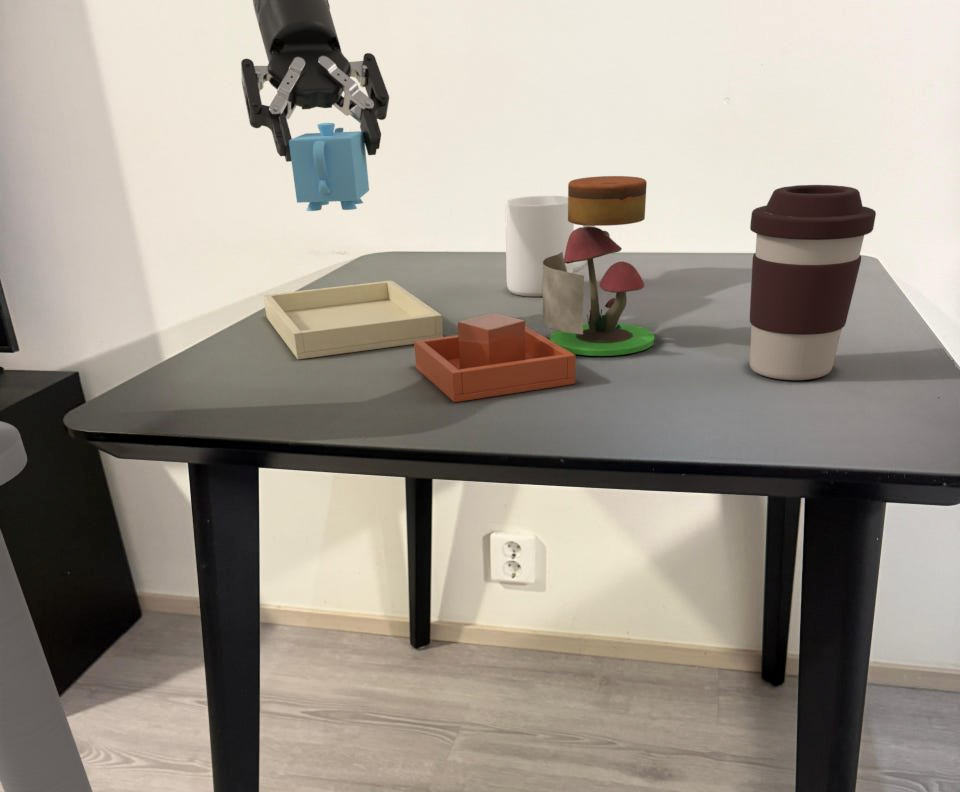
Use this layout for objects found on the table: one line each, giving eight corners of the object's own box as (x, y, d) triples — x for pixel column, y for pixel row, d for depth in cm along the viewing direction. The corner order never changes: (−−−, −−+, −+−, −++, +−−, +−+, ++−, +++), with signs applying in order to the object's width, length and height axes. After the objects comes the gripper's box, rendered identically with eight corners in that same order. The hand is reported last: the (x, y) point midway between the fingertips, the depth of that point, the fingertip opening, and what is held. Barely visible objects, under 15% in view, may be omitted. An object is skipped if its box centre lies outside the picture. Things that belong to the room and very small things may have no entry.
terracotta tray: (454, 402, 80) (452, 372, 79) (415, 367, 90) (413, 340, 88) (575, 383, 83) (575, 355, 82) (526, 352, 93) (525, 325, 91)
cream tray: (297, 359, 93) (293, 333, 92) (266, 317, 109) (263, 294, 108) (443, 340, 98) (441, 314, 96) (393, 302, 113) (391, 280, 112)
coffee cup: (838, 355, 88) (868, 180, 80) (855, 387, 80) (891, 196, 71) (731, 354, 89) (750, 182, 81) (737, 385, 81) (759, 198, 73)
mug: (581, 277, 122) (583, 191, 116) (610, 289, 115) (614, 198, 109) (496, 287, 118) (494, 199, 113) (522, 300, 112) (521, 207, 106)
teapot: (320, 197, 101) (311, 118, 97) (375, 195, 101) (368, 116, 96) (294, 215, 91) (282, 128, 87) (355, 213, 91) (346, 126, 86)
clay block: (490, 379, 84) (488, 329, 81) (459, 369, 86) (457, 321, 84) (525, 368, 86) (525, 320, 83) (494, 359, 89) (493, 312, 86)
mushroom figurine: (627, 321, 101) (634, 169, 93) (678, 350, 91) (691, 182, 83) (525, 332, 99) (523, 177, 91) (565, 364, 89) (567, 192, 81)
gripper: (357, 46, 101) (395, 173, 98) (225, 51, 97) (261, 184, 94) (365, -17, 94) (405, 119, 91) (222, -14, 90) (260, 128, 87)
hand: (332, 152), depth 92 cm, fingers closed on teapot, 8 cm apart
